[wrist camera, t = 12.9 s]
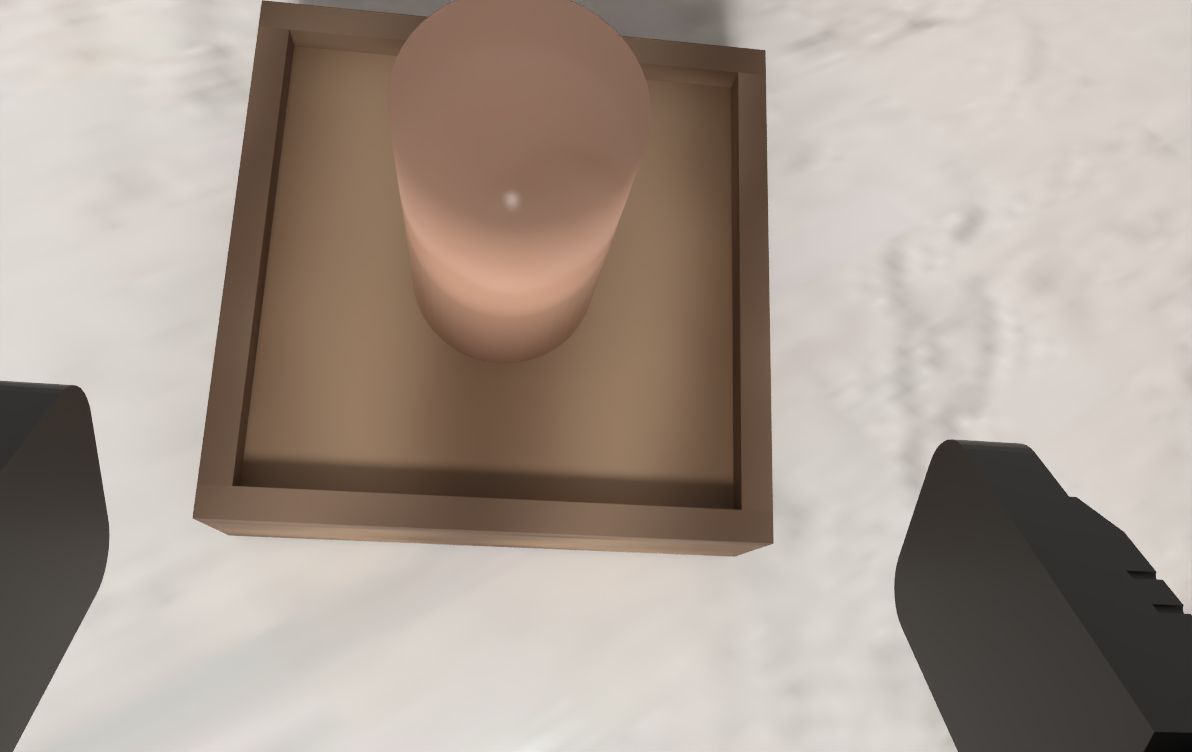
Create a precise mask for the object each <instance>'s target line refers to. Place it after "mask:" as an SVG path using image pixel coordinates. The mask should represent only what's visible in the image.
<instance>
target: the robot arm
mask: <svg viewBox="0 0 1192 752" xmlns="http://www.w3.org/2000/svg"><path fill="white" fill-rule="evenodd" d="M108 549H109V522H108V515H107V509H106V503H105V497H104V491H103V484H102V478H101V472H100V466H99V460H98V454H97V447H96V441H95V435H94V429H93V423H92V417H91V411H90V406H89V403H88V400H87V397H86V395H85V393H84V392H83V391H82V389H81V388H79V387H78V386H74V385H60V384H43V383H26V382H10V381H0V752H13V750H14V748H15V747H16V745H17V743H18V741H19V739H20V737H21V735H22V733H23V732H24V730H25V728H26V726H27V724H28V722H29V720H30V718H31V716H32V715H33V713H34V711H35V709H36V707H37V705H38V703H39V701H40V699H41V698H42V696H43V694H44V692H45V690H46V688H47V686H48V684H49V682H50V681H51V679H52V677H53V675H54V673H55V671H56V669H57V667H58V666H59V664H60V662H61V660H62V658H63V656H64V654H65V652H66V650H67V649H68V647H69V645H70V643H71V641H72V639H73V637H74V635H75V633H76V632H77V630H78V628H79V626H80V624H81V622H82V620H83V618H84V616H85V615H86V613H87V611H88V609H89V607H90V605H91V603H92V601H93V600H94V598H95V596H96V594H97V592H98V589H99V587H100V585H101V582H102V579H103V575H104V572H105V568H106V563H107V557H108ZM894 590H895V603H896V610H897V614H898V618H899V621H900V624H901V627H902V629H903V631H904V633H905V636H906V638H907V640H908V642H909V644H910V647H911V649H912V651H913V653H914V656H915V658H916V660H917V662H918V664H919V667H920V669H921V671H922V673H923V675H924V678H925V680H926V682H927V684H928V686H929V689H930V691H931V693H932V695H933V697H934V700H935V702H936V704H937V706H938V708H939V711H940V713H941V715H942V717H943V719H944V722H945V724H946V726H947V728H948V730H949V733H950V735H951V737H952V739H953V742H954V744H955V746H956V748H957V750H958V752H1192V615H1191V614H1184V613H1183V604H1182V603H1181V602H1180V601H1179V599H1178V598H1177V597H1176V596H1175V594H1174V593H1173V592H1172V591H1171V589H1170V588H1169V587H1168V586H1167V584H1166V583H1165V582H1164V581H1163V580H1157V579H1156V571H1155V570H1154V568H1153V567H1152V566H1151V565H1150V564H1149V562H1148V561H1147V560H1146V559H1145V557H1144V556H1143V555H1142V554H1141V552H1140V551H1139V550H1138V549H1137V548H1136V546H1135V545H1134V544H1133V543H1132V541H1131V540H1130V539H1129V538H1128V536H1127V535H1126V534H1125V533H1124V532H1123V531H1122V530H1120V529H1119V528H1118V527H1116V526H1115V525H1114V524H1112V523H1111V522H1110V521H1108V520H1107V519H1105V518H1104V517H1103V516H1101V515H1100V514H1099V513H1097V512H1096V511H1095V510H1093V509H1092V508H1090V507H1089V506H1088V505H1086V504H1085V503H1084V502H1082V501H1081V500H1080V499H1078V498H1077V497H1069V496H1068V495H1067V493H1066V492H1065V491H1064V490H1063V488H1062V487H1061V486H1060V484H1059V483H1058V482H1057V481H1056V479H1055V478H1054V477H1053V475H1052V474H1051V473H1050V472H1049V470H1048V469H1047V468H1046V466H1045V465H1044V464H1043V462H1042V461H1041V460H1040V459H1039V457H1038V456H1037V455H1036V453H1035V452H1034V451H1033V450H1032V449H1031V448H1030V447H1028V446H1027V445H1024V444H1018V443H1001V442H985V441H968V440H946V441H944V442H943V443H941V444H940V445H939V447H938V448H937V449H936V451H935V453H934V454H933V457H932V459H931V462H930V465H929V468H928V471H927V474H926V477H925V480H924V483H923V486H922V489H921V492H920V495H919V498H918V501H917V504H916V507H915V510H914V513H913V516H912V519H911V522H910V525H909V528H908V531H907V534H906V537H905V540H904V543H903V546H902V549H901V552H900V555H899V558H898V562H897V566H896V572H895V586H894Z"/></svg>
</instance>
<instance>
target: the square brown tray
mask: <svg viewBox="0 0 1192 752" xmlns="http://www.w3.org/2000/svg"><path fill="white" fill-rule="evenodd" d="M427 18H428V17H424V16H414V15H404V14H394V13H384V12H374V11H363V10H353V9H343V8H333V7H323V6H313V5H303V4H293V3H283V2H273V1H263V0H262V5H261V13H260V20H259V27H258V35H257V42H256V50H255V57H254V65H253V72H252V80H251V87H250V95H249V102H248V109H247V117H246V124H245V132H244V139H243V147H242V154H241V162H240V169H239V176H238V184H237V191H236V199H235V206H234V214H233V221H232V229H231V236H230V244H229V251H228V258H227V266H226V273H225V281H224V288H223V296H222V303H221V311H220V318H219V325H218V333H217V340H216V348H215V355H214V363H213V370H212V378H211V385H210V392H209V400H208V407H207V415H206V422H205V430H204V437H203V445H202V452H201V460H200V467H199V474H198V482H197V489H196V497H195V504H194V512H193V519H195V520H198V521H200V522H202V523H204V524H206V525H208V526H210V527H213V528H215V529H217V530H219V531H221V532H223V533H225V534H227V535H234V536H258V537H282V538H306V539H330V540H354V541H377V542H401V543H425V544H449V545H473V546H497V547H521V548H545V549H569V550H593V551H616V552H640V553H664V554H688V555H712V556H737V555H740V554H743V553H746V552H749V551H752V550H755V549H758V548H761V547H764V546H767V545H770V544H773V494H772V432H771V370H770V308H769V247H768V185H767V123H766V62H765V50H757V49H747V48H737V47H727V46H716V45H706V44H696V43H686V42H676V41H666V40H656V39H646V38H636V37H626V36H621V37H622V38H623V40H624V41H625V42H626V43H627V44H628V46H629V47H630V49H631V50H632V52H633V53H634V55H635V56H636V58H637V60H638V62H639V64H640V66H641V68H642V70H643V73H644V76H645V79H646V82H647V85H648V90H649V95H650V101H651V123H650V132H649V136H648V140H647V144H646V147H645V150H644V153H643V156H642V158H641V161H640V164H639V167H638V170H637V172H636V175H635V178H634V181H633V184H632V187H631V189H630V192H629V195H628V198H627V201H626V203H625V206H624V209H623V212H622V215H621V217H620V220H619V223H618V226H617V229H616V231H615V234H614V237H613V240H612V243H611V245H610V248H609V251H608V254H607V257H606V260H605V262H604V265H603V268H602V271H601V274H600V276H599V279H598V282H597V285H596V288H595V290H594V293H593V296H592V299H591V302H590V304H589V307H588V309H587V312H586V314H585V316H584V318H583V320H582V322H581V323H580V325H579V326H578V328H577V329H576V330H575V331H574V333H573V334H572V335H571V336H570V337H569V338H568V339H567V340H566V341H565V342H564V343H562V344H561V345H560V346H558V347H557V348H556V349H554V350H552V351H550V352H548V353H547V354H545V355H542V356H540V357H537V358H535V359H531V360H527V361H523V362H516V363H494V362H487V361H483V360H479V359H475V358H473V357H470V356H468V355H465V354H463V353H461V352H459V351H458V350H456V349H454V348H452V347H451V346H450V345H448V344H447V343H446V342H444V341H443V340H442V339H441V338H440V337H439V336H438V335H437V334H436V333H435V332H434V331H433V330H432V328H431V327H430V326H429V324H428V323H427V321H426V320H425V318H424V316H423V315H422V313H421V310H420V308H419V306H418V303H417V300H416V296H415V292H414V286H413V279H412V272H411V265H410V259H409V252H408V245H407V239H406V232H405V225H404V219H403V212H402V205H401V198H400V192H399V185H398V178H397V172H396V165H395V158H394V152H393V145H392V138H391V132H390V125H389V117H388V109H387V91H388V85H389V79H390V74H391V71H392V68H393V65H394V62H395V60H396V58H397V56H398V54H399V52H400V50H401V48H402V46H403V45H404V43H405V42H406V40H407V39H408V38H409V36H410V35H411V33H412V32H413V31H414V30H415V29H416V28H417V27H418V26H419V25H420V24H421V23H422V22H423V21H424V20H425V19H427Z"/></svg>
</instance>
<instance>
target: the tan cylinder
mask: <svg viewBox="0 0 1192 752" xmlns="http://www.w3.org/2000/svg"><path fill="white" fill-rule="evenodd" d="M387 109H388V117H389V125H390V132H391V138H392V145H393V152H394V158H395V165H396V172H397V178H398V185H399V192H400V198H401V205H402V212H403V219H404V225H405V232H406V239H407V245H408V252H409V259H410V265H411V272H412V279H413V286H414V292H415V296H416V300H417V303H418V306H419V308H420V310H421V313H422V315H423V316H424V318H425V320H426V321H427V323H428V324H429V326H430V327H431V328H432V330H433V331H434V332H435V333H436V334H437V335H438V336H439V337H440V338H441V339H442V340H443V341H444V342H446V343H447V344H448V345H450V346H451V347H452V348H454V349H456V350H458V351H459V352H461V353H463V354H465V355H468V356H470V357H473V358H475V359H479V360H483V361H487V362H494V363H516V362H523V361H527V360H531V359H535V358H537V357H540V356H542V355H545V354H547V353H548V352H550V351H552V350H554V349H556V348H557V347H558V346H560V345H561V344H562V343H564V342H565V341H566V340H567V339H568V338H569V337H570V336H571V335H572V334H573V333H574V331H575V330H576V329H577V328H578V326H579V325H580V323H581V322H582V320H583V318H584V316H585V314H586V312H587V309H588V307H589V304H590V302H591V299H592V296H593V293H594V290H595V288H596V285H597V282H598V279H599V276H600V274H601V271H602V268H603V265H604V262H605V260H606V257H607V254H608V251H609V248H610V245H611V243H612V240H613V237H614V234H615V231H616V229H617V226H618V223H619V220H620V217H621V215H622V212H623V209H624V206H625V203H626V201H627V198H628V195H629V192H630V189H631V187H632V184H633V181H634V178H635V175H636V172H637V170H638V167H639V164H640V161H641V158H642V156H643V153H644V150H645V147H646V144H647V140H648V136H649V132H650V123H651V101H650V95H649V90H648V85H647V82H646V79H645V76H644V73H643V70H642V68H641V66H640V64H639V62H638V60H637V58H636V56H635V55H634V53H633V52H632V50H631V49H630V47H629V46H628V44H627V43H626V42H625V41H624V40H623V38H622V37H621V36H620V35H619V34H618V33H617V31H615V30H614V29H613V28H612V27H611V26H610V25H609V24H608V23H607V22H605V21H604V20H603V19H602V18H600V17H599V16H597V15H596V14H595V13H593V12H592V11H590V10H588V9H587V8H585V7H583V6H581V5H579V4H577V3H575V2H573V1H570V0H456V1H454V2H451V3H449V4H447V5H446V6H444V7H442V8H441V9H439V10H437V11H436V12H434V13H433V14H432V15H430V16H429V17H428V18H427V19H425V20H424V21H423V22H422V23H421V24H420V25H419V26H418V27H417V28H416V29H415V30H414V31H413V32H412V33H411V35H410V36H409V38H408V39H407V40H406V42H405V43H404V45H403V46H402V48H401V50H400V52H399V54H398V56H397V58H396V60H395V62H394V65H393V68H392V71H391V74H390V79H389V85H388V91H387Z"/></svg>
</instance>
